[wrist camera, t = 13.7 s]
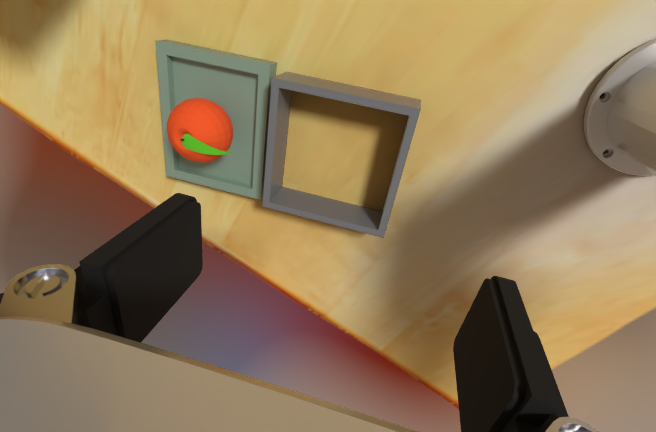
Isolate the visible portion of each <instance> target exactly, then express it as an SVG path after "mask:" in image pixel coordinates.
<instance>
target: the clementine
mask: <svg viewBox="0 0 656 432" xmlns="http://www.w3.org/2000/svg"><path fill="white" fill-rule="evenodd" d="M167 134H168V139H169V141H170V143H171V145H172V146H173V148H174V149H175V150H176V151H177V152H178V153H179V154H180V155H181V156H183V157H184V158H186V159H188V160H191V161H193V162H203V163H206V162H211V161H214V160H217V159H218V158H220V157H222V156H223V155H225V154H229V153H233V152H226V151H227V150H228V149H229V148H230V146H231V143H232V139H233V125H232V122H231V119H230V117H229V116H228V114H227V113H226V111H225V110H224V109H223V108H222V107H221V106H219V105H218V104H216V103H215V102H212V101H210V100H207V99H204V98H192V99H188V100H184V101H183V102H181V103H180V104H178V105H177V106H176V107H174V109H173V110H172V112H171V113H170V115H169V117H168V121H167Z"/></svg>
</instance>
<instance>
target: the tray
mask: <svg viewBox="0 0 656 432" xmlns="http://www.w3.org/2000/svg"><path fill="white" fill-rule="evenodd" d="M156 52H157V65H158V77H159V89H160V102H161V114H162V126H163V139H164V151H165V164H166V176H169V177H173V178H177V179H180V180H184V181H188V182H192V183H196V184H200V185H204V186H208V187H212V188H216V189H219V190H223V191H227V192H231V193H235V194H239V195H243V196H247V197H251V198H254V199H258V200H261V199H262V198H263V192H264V178H265V165H266V151H267V137H268V124H269V110H270V96H271V82H272V77H274V76H276V66H277V63H276V62H271V61H266V60H262V59H257V58H252V57H247V56H242V55H237V54H233V53H228V52H223V51H218V50H213V49H209V48H204V47H199V46H194V45H189V44H185V43H180V42H175V41H170V40H159V41H156ZM192 98H204V99H207V100H210V101H212V102H215V103H216V104H218V105H219V106H221V107H222V108H223V109H224V110H225V111H226V113H227V114H228V116H229V117H230V119H231V122H232V125H233V139H232V143H231V146H230V148H229V149H228V150H227V151H226V152H233V153H229V154H225V155H223V156H222V157H220V158H218V159H217V160H214V161H211V162H206V163H203V162H193V161H191V160H188V159H186V158H184V157H183V156H181V155H180V154H179V153H178V152H177V151H176V150H175V149H174V148H173V146H172V145H171V143H170V141H169V139H168V134H167V121H168V117H169V115H170V113H171V112H172V110H173V109H174V107H176V106H177V105H178V104H180V103H181V102H183V101H184V100H188V99H192Z"/></svg>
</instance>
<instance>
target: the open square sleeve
mask: <svg viewBox="0 0 656 432" xmlns="http://www.w3.org/2000/svg"><path fill="white" fill-rule="evenodd" d="M292 91H297V92H302V93H306V94H311V95H315V96H320V97H325V98H329V99H334V100H339V101H343V102H348V103H352V104H357V105H362V106H366V107H371V108H376V109H380V110H385V111H389V112H394V113H399V114H403V115H408V118H407V122H406V126H405V129H404V133H403V137H402V140H401V144H400V148H399V151H398V155H397V159H396V162H395V166H394V170H393V173H392V177H391V181H390V184H389V188H388V192H387V195H386V199H385V203H384V206H383V210H382V212H381V211H377V210H373V209H369V208H365V207H361V206H357V205H353V204H349V203H345V202H341V201H337V200H333V199H329V198H325V197H321V196H317V195H313V194H309V193H305V192H301V191H297V190H293V189H289V188H285V187H282V184H283V174H284V164H285V154H286V144H287V135H288V125H289V115H290V105H291V95H292ZM420 108H421V100H419V99H414V98H409V97H405V96H400V95H395V94H390V93H386V92H381V91H376V90H371V89H367V88H362V87H357V86H352V85H347V84H343V83H338V82H333V81H328V80H324V79H319V78H314V77H309V76H305V75H300V74H295V73H290V72H285V73H282V74H280V75H277V76H274V77H272V82H271V96H270V110H269V124H268V137H267V151H266V165H265V178H264V192H263V206H262V207H266V208H270V209H274V210H278V211H282V212H286V213H290V214H293V215H297V216H301V217H305V218H309V219H313V220H317V221H320V222H324V223H328V224H332V225H336V226H340V227H344V228H348V229H351V230H355V231H359V232H363V233H367V234H371V235H375V236H378V237H382V238H384V235H385V231H386V228H387V224H388V221H389V217H390V214H391V210H392V207H393V203H394V200H395V196H396V193H397V189H398V186H399V182H400V179H401V175H402V172H403V168H404V165H405V161H406V158H407V154H408V151H409V147H410V144H411V140H412V137H413V134H414V130H415V127H416V123H417V120H418V116H419V113H420Z"/></svg>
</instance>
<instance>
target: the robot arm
mask: <svg viewBox="0 0 656 432" xmlns="http://www.w3.org/2000/svg"><path fill="white" fill-rule="evenodd" d="M602 93H604V95H603V97H602V98H599V97H600V95H601V94H602ZM583 123H584V135H585V138H586V141H587V144H588V146H589V147H590V149H591V150H592V152H593V154H594V155H595V156H596V157H598V158H599V159H600V160H601V161H602V162H603V163H605V164H606V165H608V166H609V167H610V168H613V169H615V170H617V171H620V172H622V173H626V174H631V175H636V176H656V39H653V40H651V41H649V42H647V43H645V44H643V45H641V46H639V47H637V48H636V49H634V50H633V51H631V52H630V53H628V54H627V55H626V56H624V57H623V58H621V59H620V60H619V61H618V62H617V63H616V64H615V65H614V66H613V67H612V68H610V69H609V70H608V71H607V73H606V74H605V75H604V76H603V78H602V79H601V80H600V81H599V83H598V84H597V86H596V87H595V89H594V91H593V93H592V94H591V96H590V98H589V101H588V104H587V107H586V109H585V115H584V122H583ZM605 150H606V152H604V151H605ZM603 152H604V153H603ZM201 270H202V233H201V206H200V203H198V202H197V200H196V198H195V197H192V196H188V195H184V194H181V193H176V194H174V195H173V196H172V197H170V198H169V199H167V200H166V201H164V202H163V203H162V204H160V205H159V206H157V207H156V208H155V209H153V210H152V211H150V212H149V213H148V214H146V215H145V216H143V217H142V218H140V219H139V220H138V221H136V222H135V223H133V224H132V225H131V226H129V227H128V228H126V229H125V230H124V231H122V232H121V233H119V234H118V235H116V236H115V237H114V238H112V239H111V240H110V241H108V242H107V243H105V244H104V245H102V246H101V247H100V248H98V249H97V250H95V251H94V252H92V253H91V254H90V255H88V256H87V257H85V258H84V259H83V260H81V261H80V266H79V267H78V268H77V269H75V270H73V269H72V268H70V267H67V266H65V265H58V264H53V265H43V266H38V267H34V268H32V269H29V270H26V271H24V272H22V273H21V274H19V275H17V276H16V277H14V278H13V279H12V280H11V281H10V282H9V283H8V285H7V287H6V288H5V291H4V293H1V294H0V432H418V431H415V430H412V429H409V428H406V427H403V426H400V425H397V424H394V423H391V422H388V421H385V420H382V419H379V418H376V417H373V416H369V415H366V414H363V413H360V412H357V411H354V410H351V409H348V408H345V407H342V406H339V405H335V404H332V403H329V402H326V401H323V400H320V399H317V398H314V397H311V396H308V395H304V394H301V393H298V392H295V391H292V390H289V389H286V388H283V387H279V386H276V385H273V384H270V383H267V382H264V381H261V380H258V379H255V378H251V377H248V376H245V375H242V374H239V373H236V372H232V371H229V370H226V369H223V368H220V367H217V366H213V365H210V364H207V363H204V362H201V361H198V360H194V359H191V358H188V357H185V356H181V355H179V354H175V353H172V352H169V351H166V350H163V349H159V348H156V347H153V346H149V345H147V344H143V343H141V342H142V341H143V339H144V338H145V337H146V336H147V335H148V333H150V331H151V330H152V329H153V328H154V327H155V326H156V325H157V323H158V322H159V321H160V320H161V319H162V317H163V316H164V315H165V314H166V313H167V312H168V311H169V309H170V308H171V307H172V306H173V305H174V304H175V303H176V302H177V300H178V299H179V298H180V297H181V296H182V295H183V293H184V292H185V291H186V290H187V289H188V288H189V286H190V285H191V284H192V283H193V282H194V281H195V280H196V278H197V277H198V276H199V275H200V273H201ZM453 350H454V361H455V371H456V381H457V392H458V402H459V412H460V423H461V432H599V431H597V430H596V429H595V428H593V427H592V426H590V425H589V424H587V423H585V422H583V421H581V420H578V419H575V418H571V417H569V416H568V414H567V411H566V409H565V406H564V403H563V400H562V398H561V395H560V392H559V390H558V387H557V384H556V381H555V379H554V376H553V373H552V371H551V368H550V365H549V362H548V360H547V357H546V354H545V352H544V349H543V346H542V344H541V341H540V338H539V336H538V335H537V333H535V332H534V331H533V329H532V326H531V323H530V320H529V318H528V315H527V312H526V309H525V307H524V304H523V301H522V298H521V295H520V293H519V290H518V287H517V284H516V282H515V281H513V280H509V279H506V278H502V277H498V276H493V277H492V278H491V279H485V280H484V282H483V284H482V286H481V288H480V290H479V292H478V294H477V296H476V298H475V300H474V302H473V304H472V306H471V308H470V310H469V312H468V314H467V316H466V318H465V320H464V322H463V324H462V326H461V328H460V330H459V332H458V334H457V336H456V338H455V341H454V347H453Z"/></svg>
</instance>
